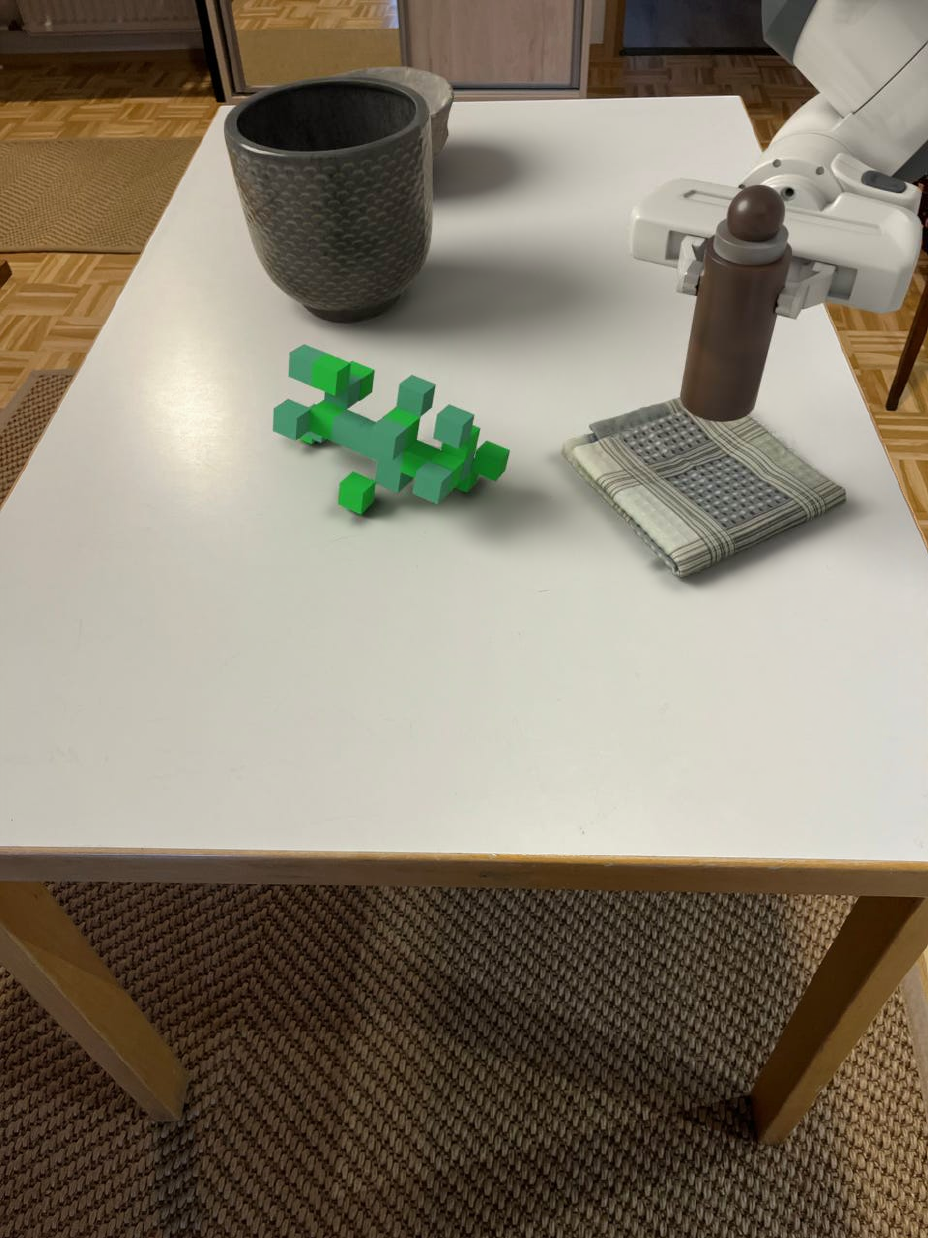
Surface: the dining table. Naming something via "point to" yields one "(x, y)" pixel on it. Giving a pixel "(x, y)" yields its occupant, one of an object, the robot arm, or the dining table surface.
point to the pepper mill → (736, 307)
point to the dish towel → (699, 482)
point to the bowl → (427, 86)
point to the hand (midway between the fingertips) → (736, 296)
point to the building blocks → (386, 432)
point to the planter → (336, 190)
